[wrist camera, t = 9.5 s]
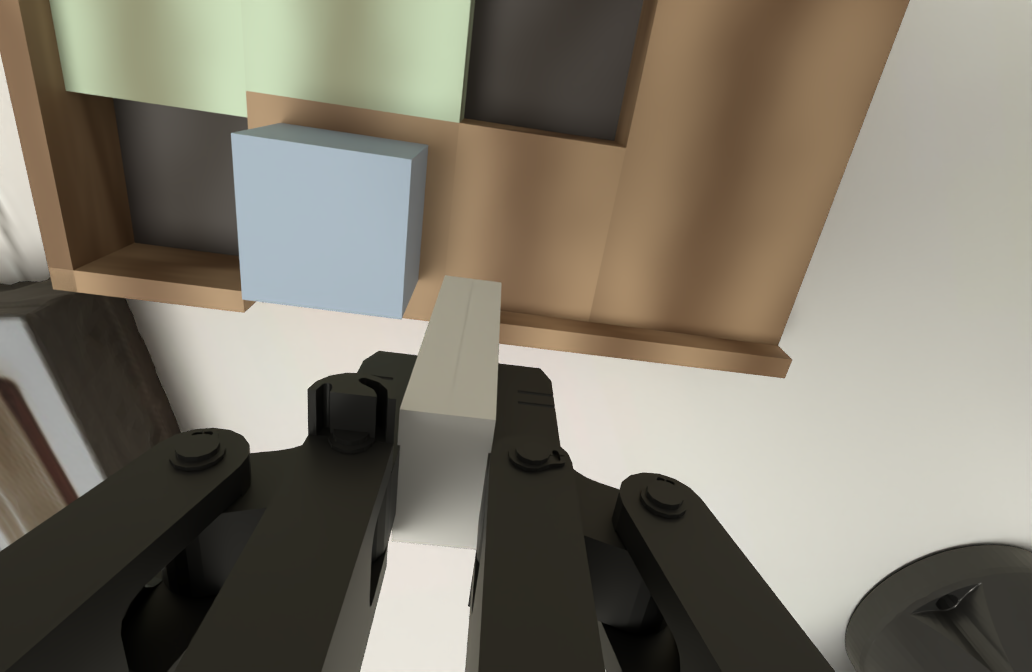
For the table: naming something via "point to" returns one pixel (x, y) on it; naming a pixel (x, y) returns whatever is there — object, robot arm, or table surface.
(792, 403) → the table surface
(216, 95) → the wooden tray
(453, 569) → the table surface
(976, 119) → the table surface
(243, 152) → the block
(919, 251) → the table surface
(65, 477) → the bible
